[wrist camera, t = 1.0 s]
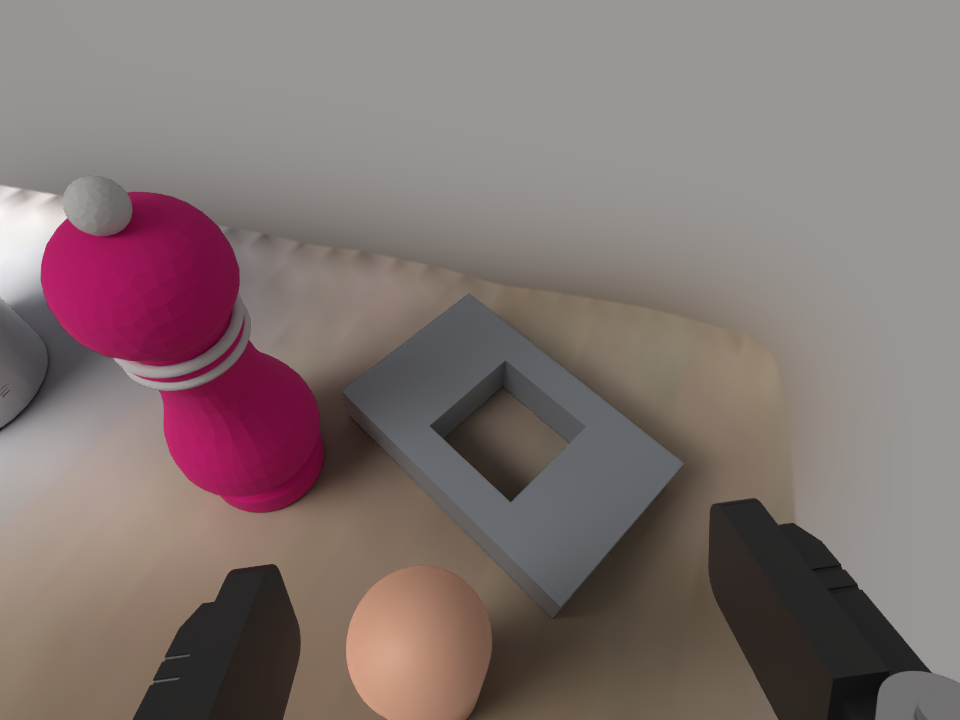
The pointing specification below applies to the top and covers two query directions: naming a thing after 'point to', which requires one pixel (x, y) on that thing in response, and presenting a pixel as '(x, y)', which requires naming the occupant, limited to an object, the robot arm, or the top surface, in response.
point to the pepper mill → (183, 339)
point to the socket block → (560, 485)
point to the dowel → (420, 645)
